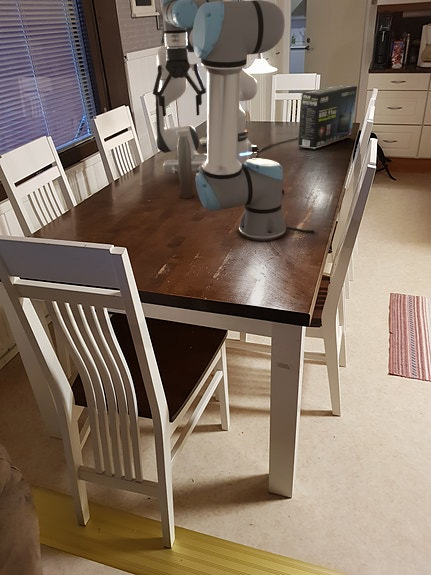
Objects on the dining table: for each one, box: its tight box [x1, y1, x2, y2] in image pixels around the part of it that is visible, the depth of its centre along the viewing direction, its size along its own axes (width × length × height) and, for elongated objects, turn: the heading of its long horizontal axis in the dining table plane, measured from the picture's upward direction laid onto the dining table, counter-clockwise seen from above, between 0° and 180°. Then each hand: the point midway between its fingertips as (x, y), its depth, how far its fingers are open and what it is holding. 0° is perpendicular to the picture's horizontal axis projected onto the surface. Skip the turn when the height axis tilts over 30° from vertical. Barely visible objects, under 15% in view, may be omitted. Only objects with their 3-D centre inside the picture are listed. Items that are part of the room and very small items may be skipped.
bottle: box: [176, 136, 194, 199], centre depth 175 cm, size 5×5×25 cm
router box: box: [297, 84, 358, 151], centre depth 238 cm, size 36×11×27 cm, turn 134°
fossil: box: [199, 136, 207, 146], centre depth 250 cm, size 18×11×15 cm
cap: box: [176, 129, 189, 137], centre depth 169 cm, size 4×4×2 cm
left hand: (186, 171), depth 188 cm, fingers open, 8 cm apart
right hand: (181, 115), depth 166 cm, fingers open, 11 cm apart
